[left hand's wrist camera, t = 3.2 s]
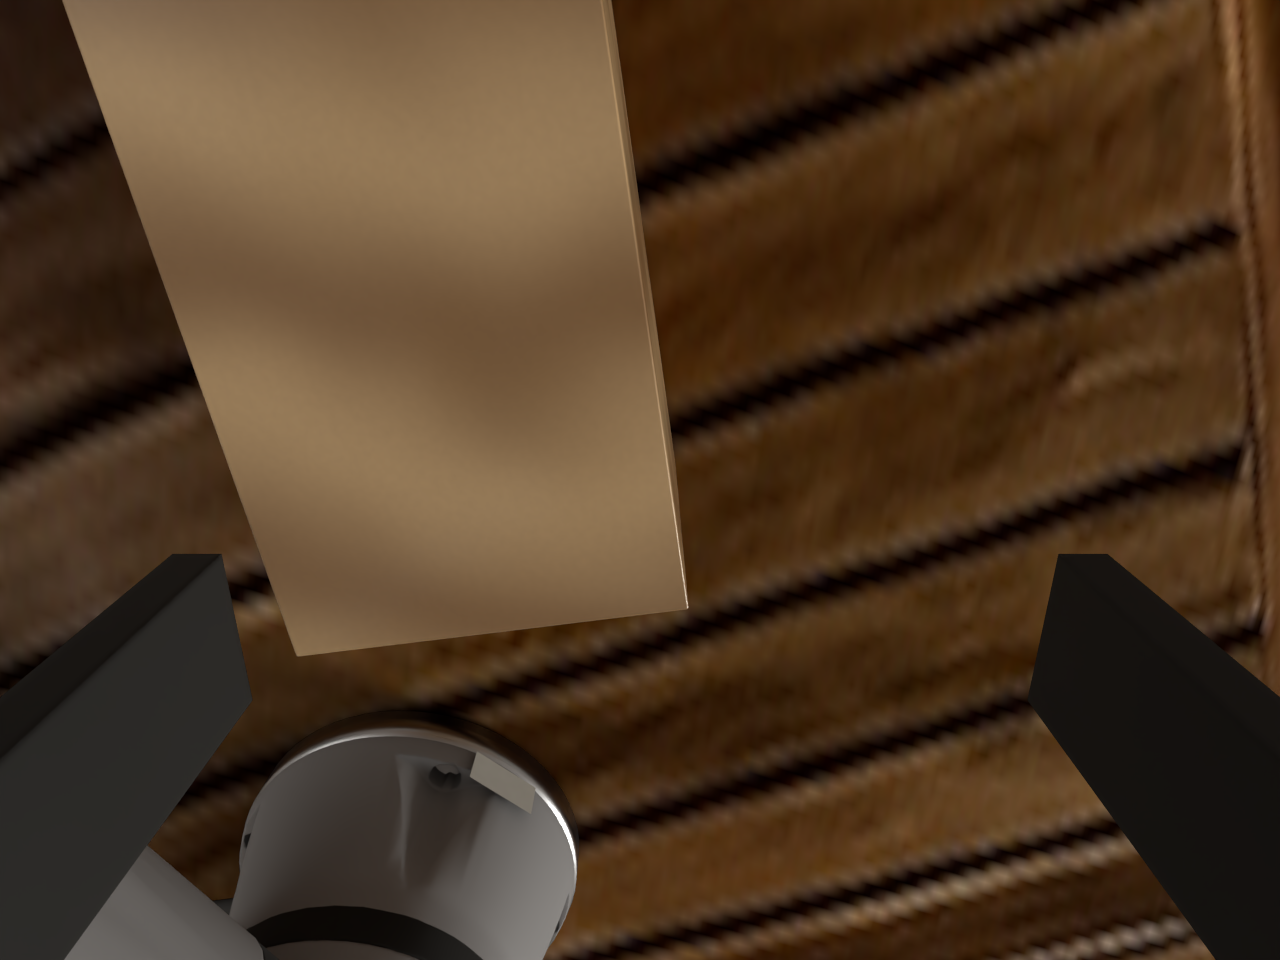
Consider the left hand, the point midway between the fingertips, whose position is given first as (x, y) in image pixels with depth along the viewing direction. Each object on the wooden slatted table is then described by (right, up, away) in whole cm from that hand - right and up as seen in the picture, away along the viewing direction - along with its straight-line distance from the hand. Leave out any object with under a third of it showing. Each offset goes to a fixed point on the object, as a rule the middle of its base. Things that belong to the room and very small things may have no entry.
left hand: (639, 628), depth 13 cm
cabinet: (-5, +11, +15) cm, 20 cm away
